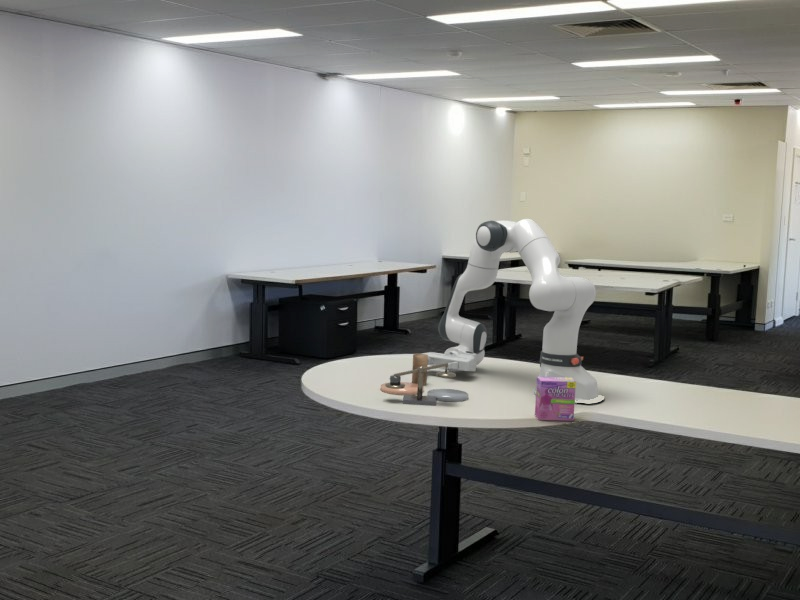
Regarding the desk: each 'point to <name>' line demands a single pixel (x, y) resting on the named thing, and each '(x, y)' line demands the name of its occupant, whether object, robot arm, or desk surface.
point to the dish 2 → (448, 395)
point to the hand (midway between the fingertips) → (435, 364)
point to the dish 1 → (402, 389)
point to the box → (555, 398)
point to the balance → (418, 398)
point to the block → (417, 362)
